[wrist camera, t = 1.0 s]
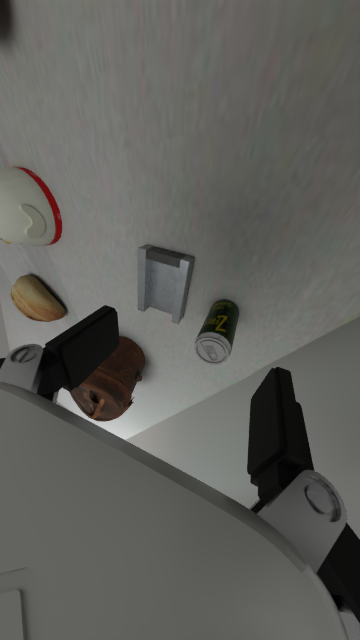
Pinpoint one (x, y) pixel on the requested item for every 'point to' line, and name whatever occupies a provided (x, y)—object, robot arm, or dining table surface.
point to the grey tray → (163, 280)
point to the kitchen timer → (27, 209)
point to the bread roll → (35, 300)
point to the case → (111, 383)
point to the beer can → (217, 333)
